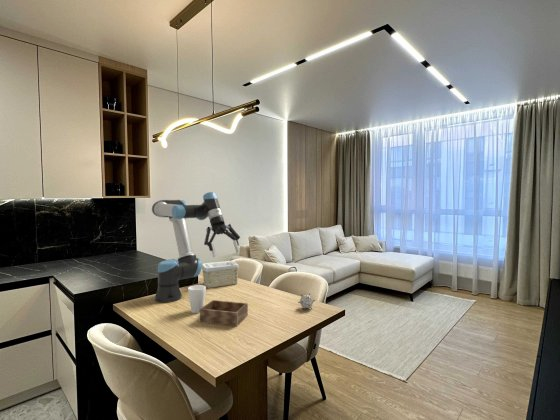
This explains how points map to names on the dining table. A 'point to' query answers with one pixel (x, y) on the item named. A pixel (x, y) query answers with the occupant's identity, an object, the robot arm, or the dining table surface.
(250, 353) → the dining table surface
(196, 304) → the foam cup
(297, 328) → the dining table surface
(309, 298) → the grey spiked ball
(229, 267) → the storage basket
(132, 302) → the dining table surface
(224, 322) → the brown wooden tray
